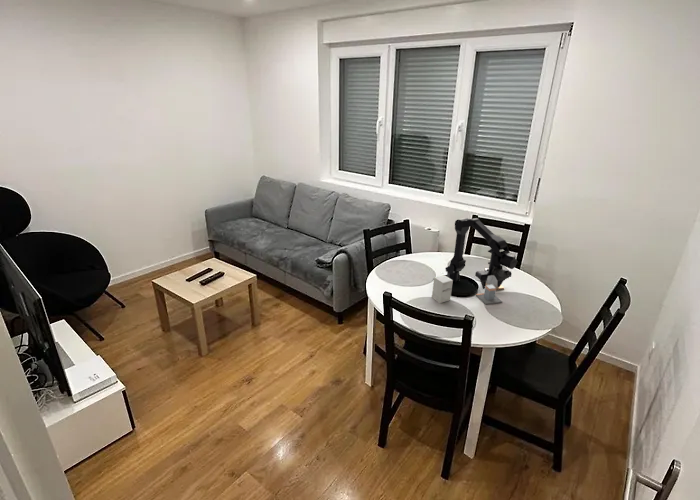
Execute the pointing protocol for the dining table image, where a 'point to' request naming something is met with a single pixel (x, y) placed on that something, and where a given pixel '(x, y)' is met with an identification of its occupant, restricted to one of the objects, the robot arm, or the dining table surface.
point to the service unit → (492, 281)
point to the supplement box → (442, 288)
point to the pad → (485, 301)
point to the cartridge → (489, 292)
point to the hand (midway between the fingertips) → (490, 287)
